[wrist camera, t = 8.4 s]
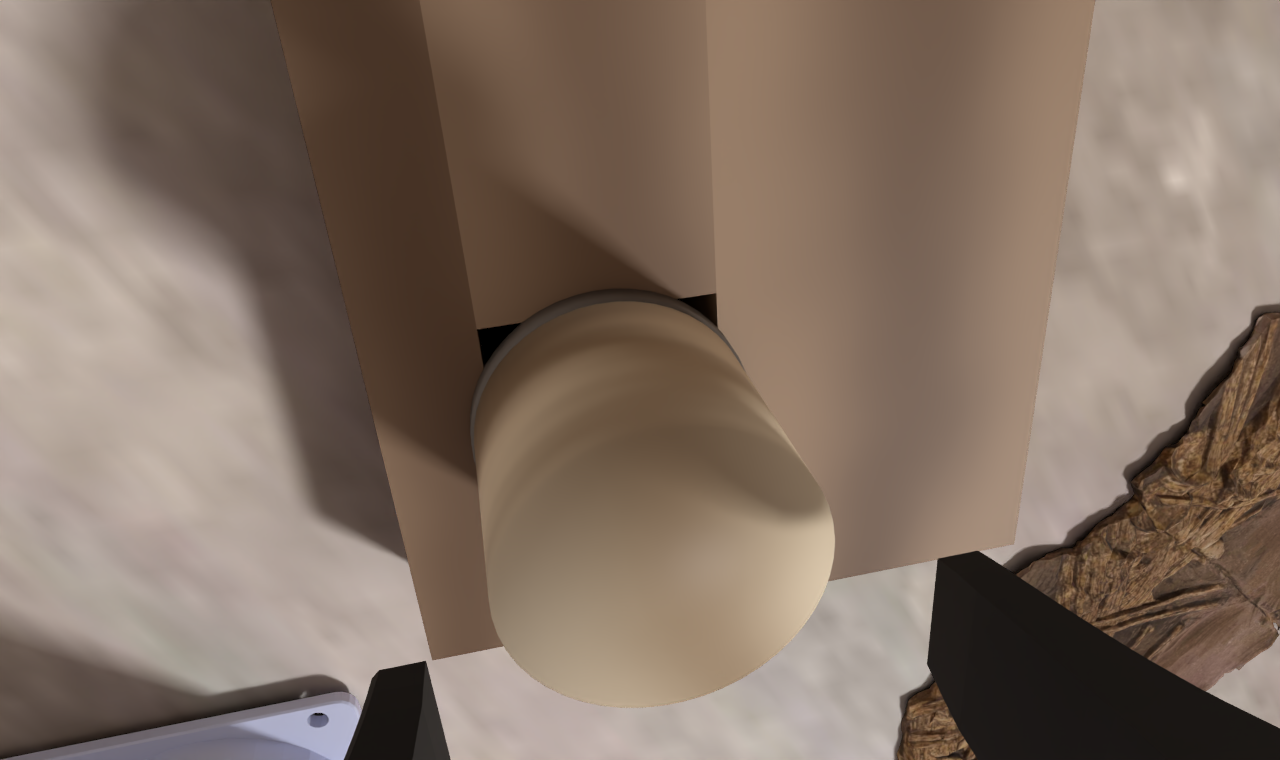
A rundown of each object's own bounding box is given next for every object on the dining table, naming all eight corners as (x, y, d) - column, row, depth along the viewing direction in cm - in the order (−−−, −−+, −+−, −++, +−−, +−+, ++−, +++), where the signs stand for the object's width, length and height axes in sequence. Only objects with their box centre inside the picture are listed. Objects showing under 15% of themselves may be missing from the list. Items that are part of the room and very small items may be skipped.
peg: (491, 490, 22) (520, 743, 16) (439, 269, 20) (449, 467, 13) (721, 441, 23) (839, 665, 16) (702, 222, 20) (836, 387, 14)
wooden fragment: (1370, 190, 24) (1407, 203, 23) (1532, 383, 29) (1569, 400, 28) (745, 823, 31) (754, 851, 31) (957, 896, 36) (970, 922, 35)
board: (430, 573, 24) (432, 660, 21) (225, -310, 15) (185, -350, 12) (953, 476, 26) (1014, 544, 23) (1041, -356, 17) (1154, -397, 14)
